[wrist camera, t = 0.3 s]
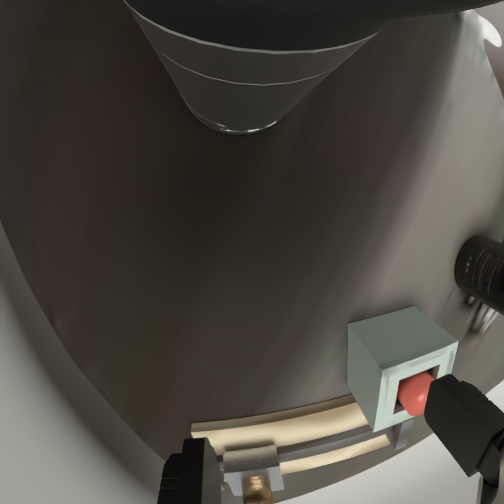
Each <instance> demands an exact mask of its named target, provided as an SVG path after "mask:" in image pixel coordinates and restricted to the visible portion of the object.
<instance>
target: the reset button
mask: <svg viewBox="0 0 504 504" xmlns="http://www.w3.org/2000/svg"><path fill="white" fill-rule="evenodd" d="M433 380H434V378H433V377H432V376H431V375H430V374H429V373H428V372H427V371H426V370H425V371H422V372H420V373H417V374H415V375H412V376H409V377H407V378H404V379H401V380H399V385H398V391H397V396H396V397H397V398H398V400H399V401H400V402H401V404H402V405H403V407H404V408H405V410H406V411H407V412H408V414H409V415H410V416H418V415H421V414H423V413H424V409H425V404H426V400H427V396H428V391H429V386H430V383H431V382H432V381H433Z"/></svg>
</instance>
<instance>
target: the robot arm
mask: <svg viewBox="0 0 504 504" xmlns="http://www.w3.org/2000/svg"><path fill="white" fill-rule="evenodd" d="M124 1H125V3H126V5H127V6H128V8H129V10H130V11H131V13H132V14H133V16H134V18H135V19H136V21H137V23H138V24H139V26H140V27H141V29H142V31H143V32H144V34H145V36H146V37H147V39H148V40H149V42H150V43H151V45H152V47H153V48H154V50H155V52H156V53H157V55H158V57H159V58H160V60H161V62H162V63H163V65H164V67H165V69H166V70H167V72H168V74H169V75H170V77H171V79H172V80H173V82H174V84H175V86H176V87H177V89H178V91H179V92H180V94H181V96H182V98H183V100H184V101H185V103H186V105H187V106H188V108H189V109H190V111H191V112H192V114H193V115H194V116H195V117H196V118H197V119H198V120H199V121H200V122H201V123H202V124H204V125H206V126H207V127H209V128H211V129H212V130H215V131H218V132H221V133H224V134H231V135H249V134H253V133H257V132H260V131H263V130H265V129H267V128H269V127H271V126H272V125H274V124H275V123H277V122H278V121H279V120H280V119H281V118H282V117H283V116H284V115H285V114H286V113H288V112H289V111H290V110H291V109H292V108H293V107H294V106H295V105H296V104H297V103H298V102H299V101H300V100H302V99H303V98H304V97H305V96H306V95H307V94H308V93H309V92H310V91H311V90H312V89H313V88H315V87H316V86H317V85H318V84H319V83H320V82H321V81H322V80H323V79H325V78H326V77H327V76H328V75H329V74H330V73H331V72H332V71H334V70H335V69H336V68H337V67H338V66H339V65H340V64H342V63H343V62H344V61H345V60H346V59H347V58H348V57H350V56H351V55H352V54H353V53H354V52H355V51H356V50H358V49H359V48H360V47H361V46H362V45H364V44H365V43H366V42H367V41H368V40H370V39H371V38H372V37H373V36H375V35H376V34H377V33H378V32H380V31H381V30H382V29H384V28H385V27H386V26H388V25H389V24H390V23H391V22H393V21H394V20H396V19H398V18H404V17H413V16H424V15H436V14H445V13H452V12H459V11H465V10H470V9H475V8H480V7H484V6H487V5H491V4H495V3H498V2H501V1H504V0H124ZM424 416H425V420H426V422H427V424H428V425H429V426H430V428H431V429H432V430H433V432H434V433H435V434H436V435H437V437H438V438H439V439H440V441H441V442H442V443H443V444H444V446H445V447H446V448H447V450H448V451H449V452H450V453H451V455H452V456H453V457H454V459H455V460H456V461H457V463H458V464H459V465H460V467H461V468H462V469H463V470H464V472H465V473H466V475H467V476H468V477H470V476H472V475H474V474H475V473H477V472H478V471H479V472H480V474H481V476H480V478H479V485H478V493H477V500H476V504H504V413H503V412H502V411H501V410H500V409H499V408H498V407H497V406H496V405H495V404H494V403H493V402H492V401H490V400H488V398H487V397H486V396H485V395H484V394H483V395H482V392H481V391H479V390H478V389H477V388H476V387H475V386H474V385H472V384H469V383H467V382H465V381H461V382H460V381H458V380H457V379H456V378H455V377H454V376H453V375H452V374H446V375H444V376H442V377H440V378H437V379H435V380H433V381H432V382H431V383H430V386H429V391H428V396H427V400H426V404H425V409H424ZM157 504H221V473H220V467H219V464H218V461H217V458H216V456H215V454H214V451H213V449H212V446H211V444H210V441H209V439H208V438H207V437H202V438H188V439H185V440H184V443H183V450H182V453H176V454H171V456H170V457H169V458H168V460H167V461H166V463H165V464H164V468H163V473H162V480H161V484H160V490H159V496H158V502H157Z"/></svg>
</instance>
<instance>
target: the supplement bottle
mask: <svg viewBox="0 0 504 504" xmlns="http://www.w3.org/2000/svg"><path fill="white" fill-rule="evenodd" d="M456 279H457V283H458V285H459V287H460V288H461V289H462V290H463V291H464V292H466V293H467V294H469V295H471V296H472V297H474V298H476V299H477V300H479V301H481V302H482V303H484V304H486V305H487V306H489V307H491V308H492V309H494V310H495V311H497V312H499V313H500V314H502V315H504V244H503V243H500V242H497V241H494V240H491V239H488V238H485V237H480V236H479V237H474V238H472V239H471V240H469V241H468V242H467V243H466V244H465V245H464V247H463V248H462V250H461V252H460V254H459V257H458V260H457V264H456Z"/></svg>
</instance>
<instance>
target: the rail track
mask: <svg viewBox="0 0 504 504" xmlns="http://www.w3.org/2000/svg"><path fill="white" fill-rule="evenodd" d="M413 420H414V418H410V419H408V420H405V421H403V422H400V423H398V424H395V425H393V426H390V427H387V428H385V429H382V430H379V431H376V432H373V431H372V429H371V427H370V426H369V424H368V422H367V420H366V418H365V416H364V414H363V413H362V411H361V409H360V407H359V405H358V403H357V401H356V400H355V398H354V396H353V394H351V395H348V396H344V397H341V398H337V399H333V400H329V401H325V402H321V403H317V404H313V405H309V406H304V407H300V408H295V409H290V410H285V411H280V412H275V413H269V414H264V415H258V416H251V417H245V418H238V419H230V420H222V421H212V422H202V423H192V426H191V434H192V436H193V438H202V437H207V438H208V439H209V441H210V444H211V446H212V449H213V451H214V454H215V456H216V458H217V461H218V464H219V467H220V473H221V490H224V482H227V479H226V477H225V475H224V466H223V455H224V452H227V451H236V450H244V449H251V448H258V447H264V446H270V445H276V449H277V454H278V459H279V464H280V469H281V474H286V473H291V472H296V471H301V470H305V469H310V468H314V467H318V466H322V465H326V464H330V463H334V462H337V461H341V460H344V459H348V458H351V457H354V456H357V455H360V454H363V453H366V452H369V451H372V450H375V449H378V448H381V447H383V446H386V445H389V444H391V445H392V447H393V449H394V450H397V449H400V448H402V447H405V445H406V442H407V439H408V436H409V433H410V430H411V426H412V423H413Z"/></svg>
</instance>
